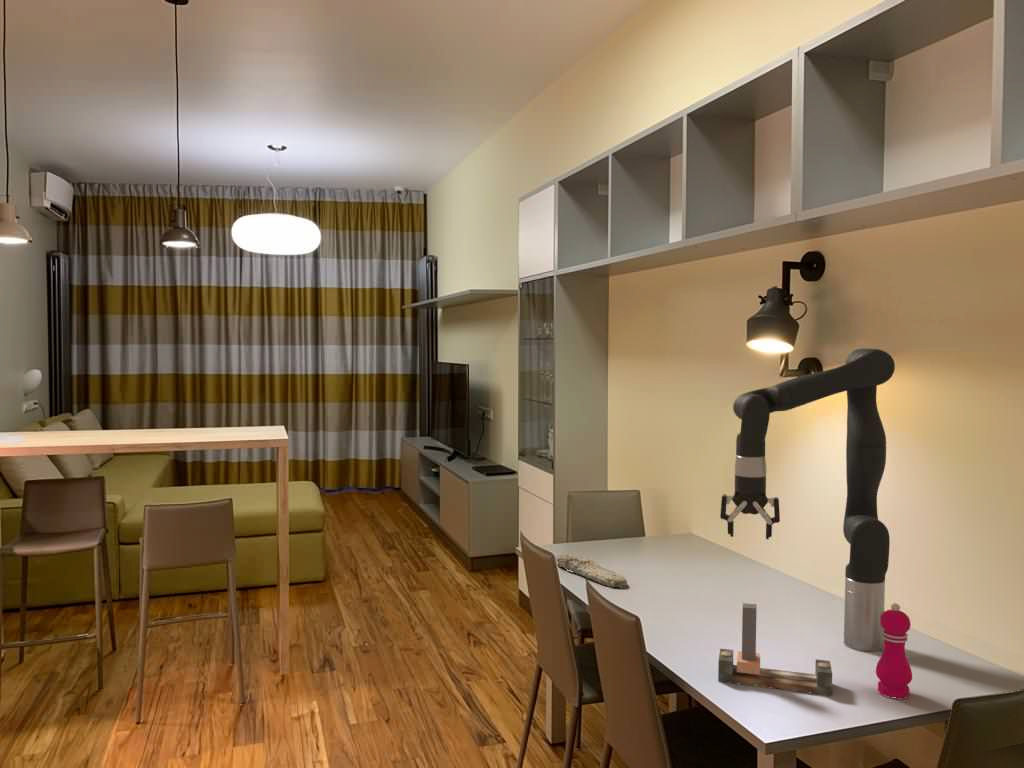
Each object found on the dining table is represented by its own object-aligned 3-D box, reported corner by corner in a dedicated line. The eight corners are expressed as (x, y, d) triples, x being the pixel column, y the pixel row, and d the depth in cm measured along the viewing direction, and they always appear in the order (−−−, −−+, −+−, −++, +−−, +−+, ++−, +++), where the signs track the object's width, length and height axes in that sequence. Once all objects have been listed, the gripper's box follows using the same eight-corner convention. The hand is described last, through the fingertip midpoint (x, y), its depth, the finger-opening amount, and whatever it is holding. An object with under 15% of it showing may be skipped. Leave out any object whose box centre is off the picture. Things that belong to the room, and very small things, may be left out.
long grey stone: (610, 596, 246) (634, 592, 252) (611, 579, 246) (636, 576, 251) (545, 563, 276) (569, 560, 281) (547, 548, 275) (570, 545, 281)
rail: (829, 682, 180) (829, 659, 180) (831, 695, 173) (832, 671, 173) (719, 669, 187) (720, 647, 187) (718, 681, 181) (718, 658, 180)
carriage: (760, 663, 184) (761, 602, 183) (759, 674, 178) (761, 611, 177) (737, 661, 186) (738, 600, 185) (736, 671, 180) (737, 609, 179)
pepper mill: (880, 683, 180) (882, 596, 179) (915, 692, 175) (917, 602, 174) (871, 694, 174) (873, 604, 173) (907, 703, 170) (909, 611, 169)
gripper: (720, 474, 197) (719, 539, 198) (780, 477, 193) (779, 543, 194) (721, 469, 205) (721, 532, 205) (780, 472, 200) (779, 536, 201)
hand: (749, 537), depth 200 cm, fingers open, 8 cm apart
